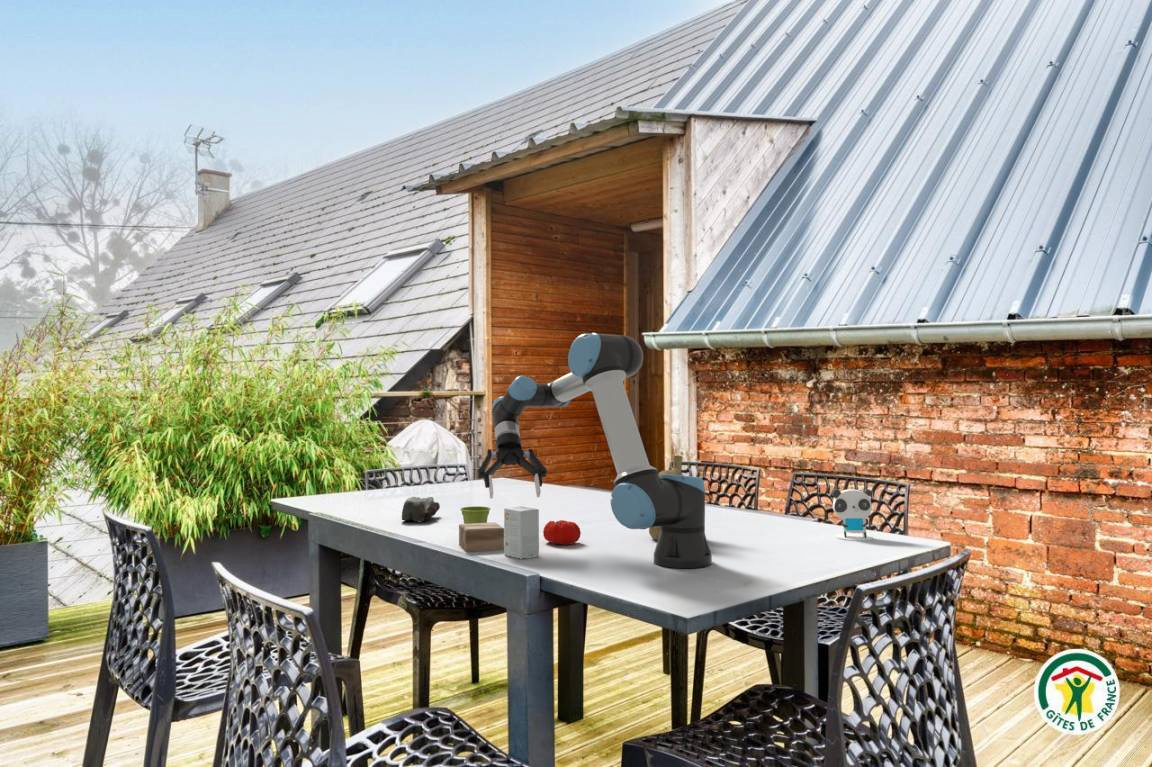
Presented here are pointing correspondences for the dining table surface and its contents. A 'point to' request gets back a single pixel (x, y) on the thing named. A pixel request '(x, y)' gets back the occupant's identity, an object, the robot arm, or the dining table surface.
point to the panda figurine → (852, 513)
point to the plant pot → (475, 514)
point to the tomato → (561, 532)
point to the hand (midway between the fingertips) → (515, 495)
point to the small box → (521, 532)
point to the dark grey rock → (419, 508)
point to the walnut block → (481, 536)
